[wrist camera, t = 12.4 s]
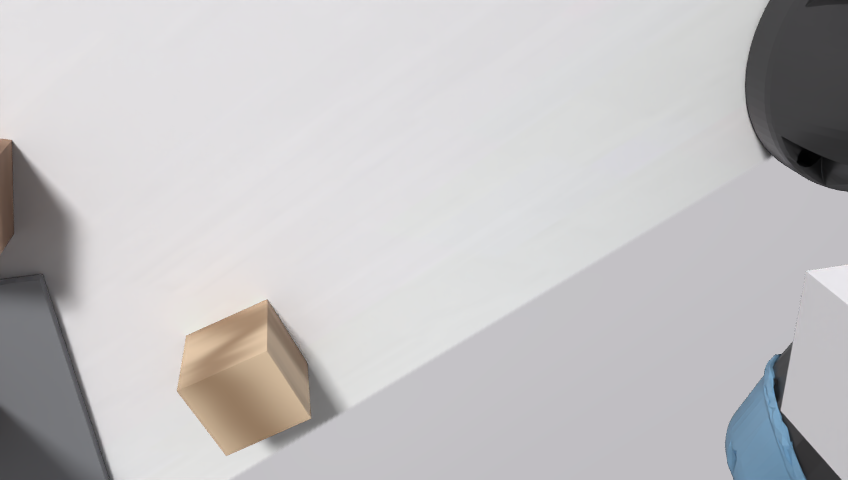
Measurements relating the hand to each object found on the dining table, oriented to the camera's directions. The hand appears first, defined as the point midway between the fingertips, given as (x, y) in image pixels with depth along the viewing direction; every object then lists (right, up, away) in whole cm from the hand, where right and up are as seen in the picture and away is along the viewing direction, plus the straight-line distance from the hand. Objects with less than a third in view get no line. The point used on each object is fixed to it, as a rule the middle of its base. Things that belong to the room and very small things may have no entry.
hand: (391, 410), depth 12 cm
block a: (-10, -4, +33) cm, 34 cm away
